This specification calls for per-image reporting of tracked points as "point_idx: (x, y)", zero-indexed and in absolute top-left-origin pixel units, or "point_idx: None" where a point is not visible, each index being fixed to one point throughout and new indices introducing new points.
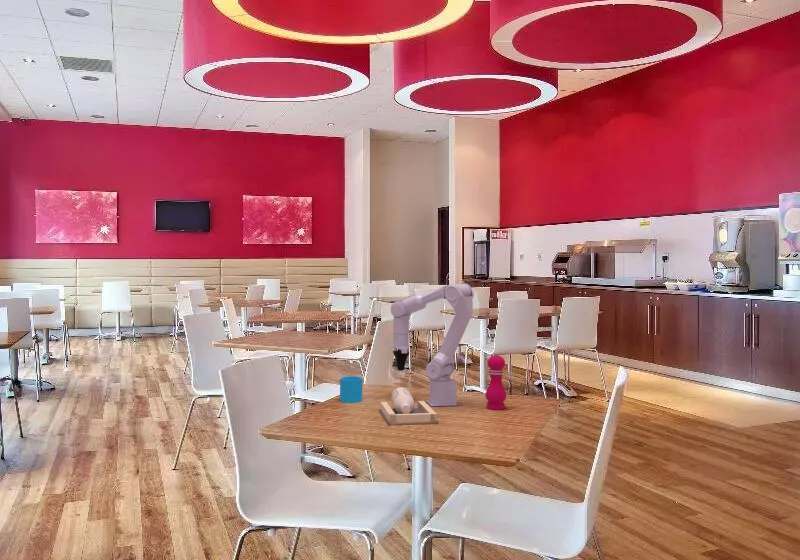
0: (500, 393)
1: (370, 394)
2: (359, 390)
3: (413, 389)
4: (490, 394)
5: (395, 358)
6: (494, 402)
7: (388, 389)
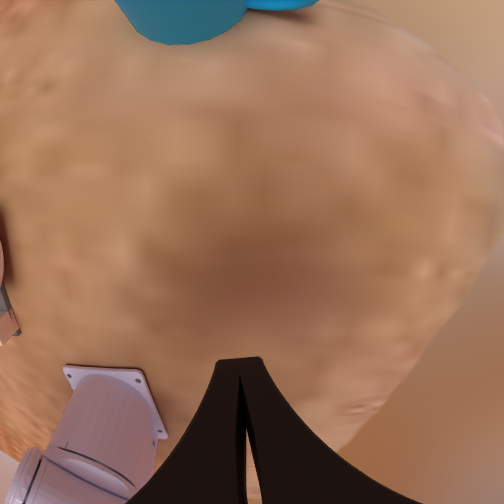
0: None
1: (350, 104)
2: (121, 7)
3: (419, 332)
4: None
5: (323, 451)
6: None
7: (448, 224)
